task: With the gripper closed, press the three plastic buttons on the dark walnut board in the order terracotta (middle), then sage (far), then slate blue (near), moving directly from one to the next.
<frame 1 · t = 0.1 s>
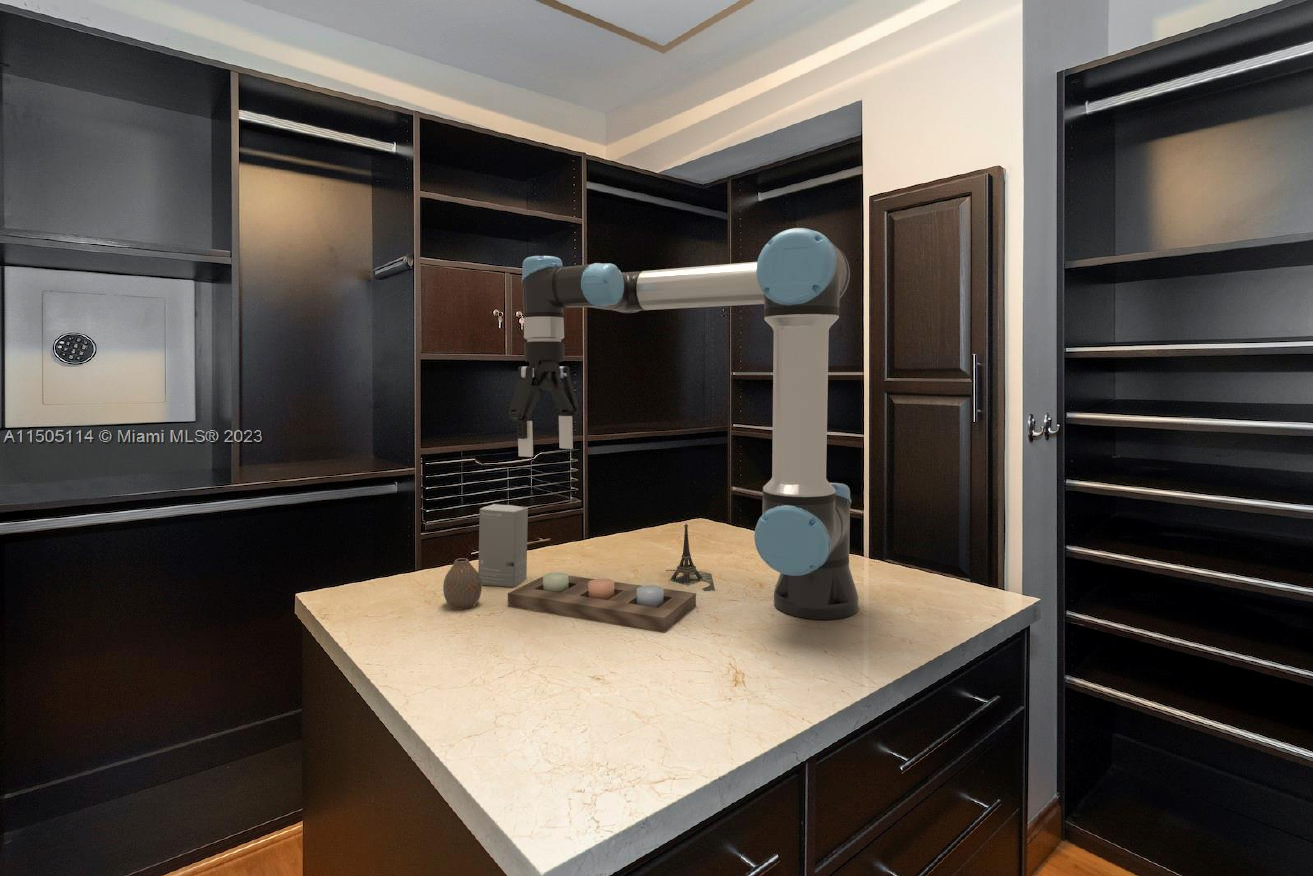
hand: (546, 452, 134), 28 cm above the counter, fingers open, 13 cm apart
eiffel tower figurine: (688, 583, 144), on the counter
button terracotta: (601, 590, 128), point 3 cm above the counter, slide at 0.0 cm
button slate: (650, 597, 124), point 3 cm above the counter, slide at 0.0 cm
button sage: (555, 583, 132), point 3 cm above the counter, slide at 0.0 cm
vase: (463, 606, 130), on the counter
button board: (601, 606, 129), on the counter
skincare box: (504, 582, 144), on the counter
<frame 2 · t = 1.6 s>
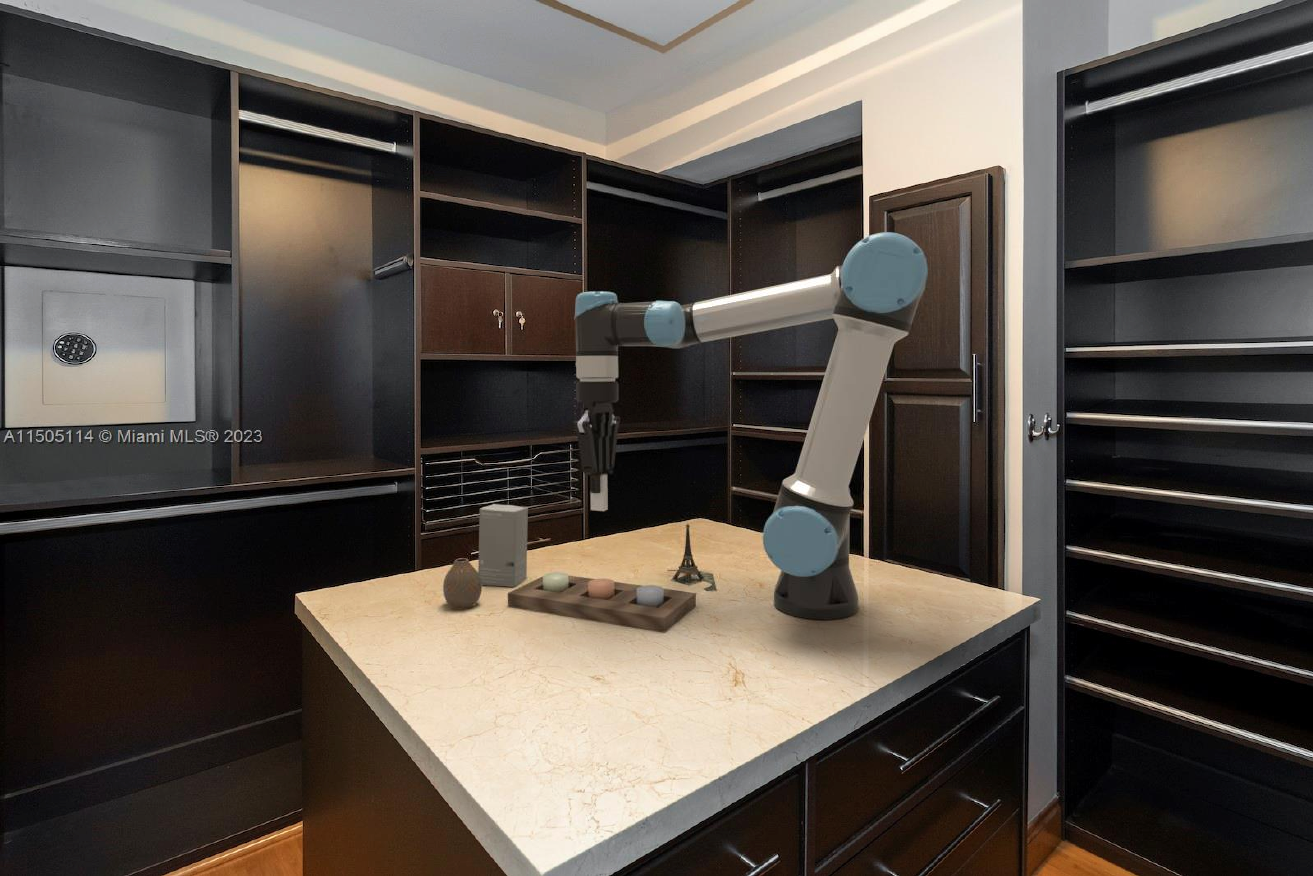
hand: (599, 509, 127), 18 cm above the counter, fingers closed
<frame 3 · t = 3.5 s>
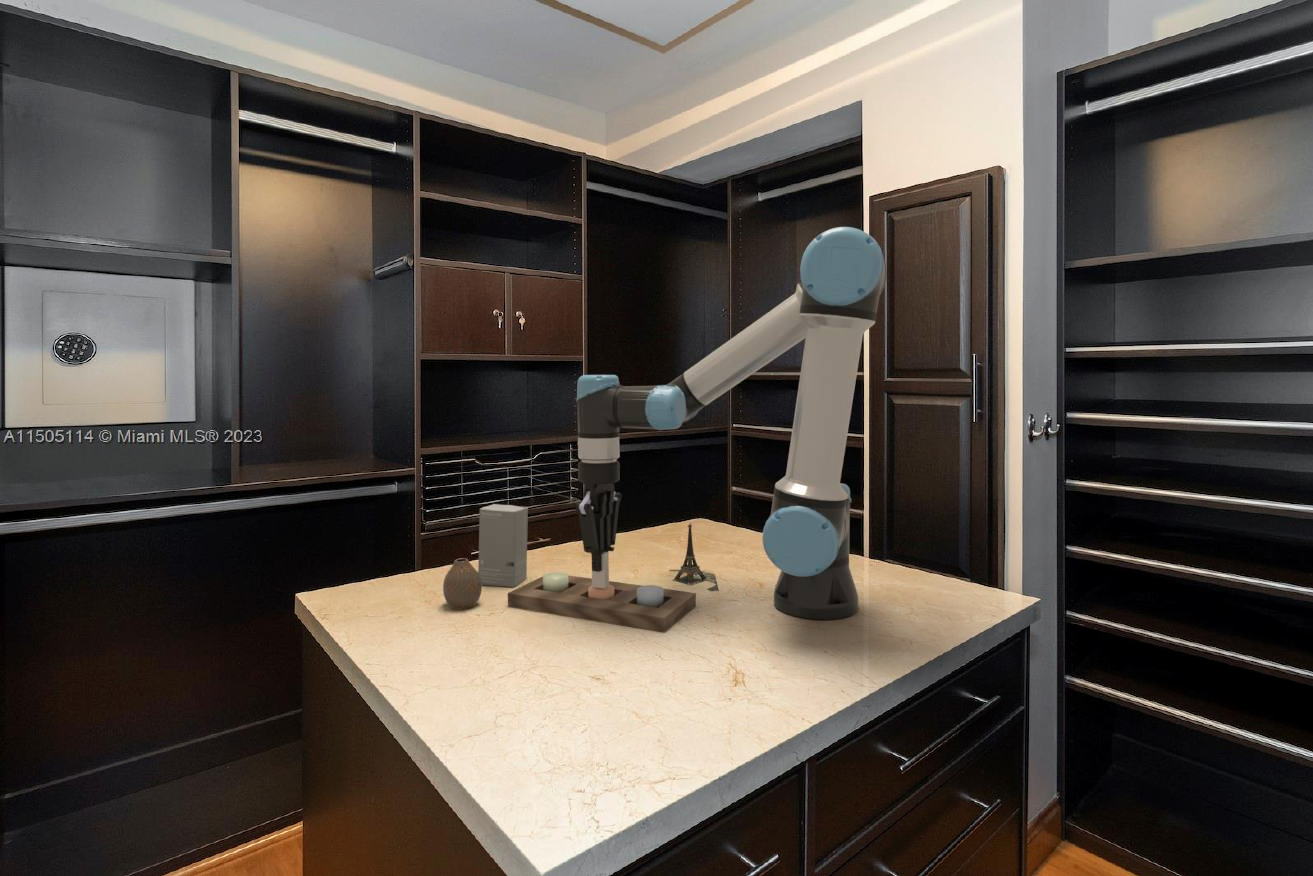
hand: (600, 586, 128), 4 cm above the counter, fingers closed
button terracotta: (601, 596, 128), point 2 cm above the counter, slide at 1.1 cm, touching gripper
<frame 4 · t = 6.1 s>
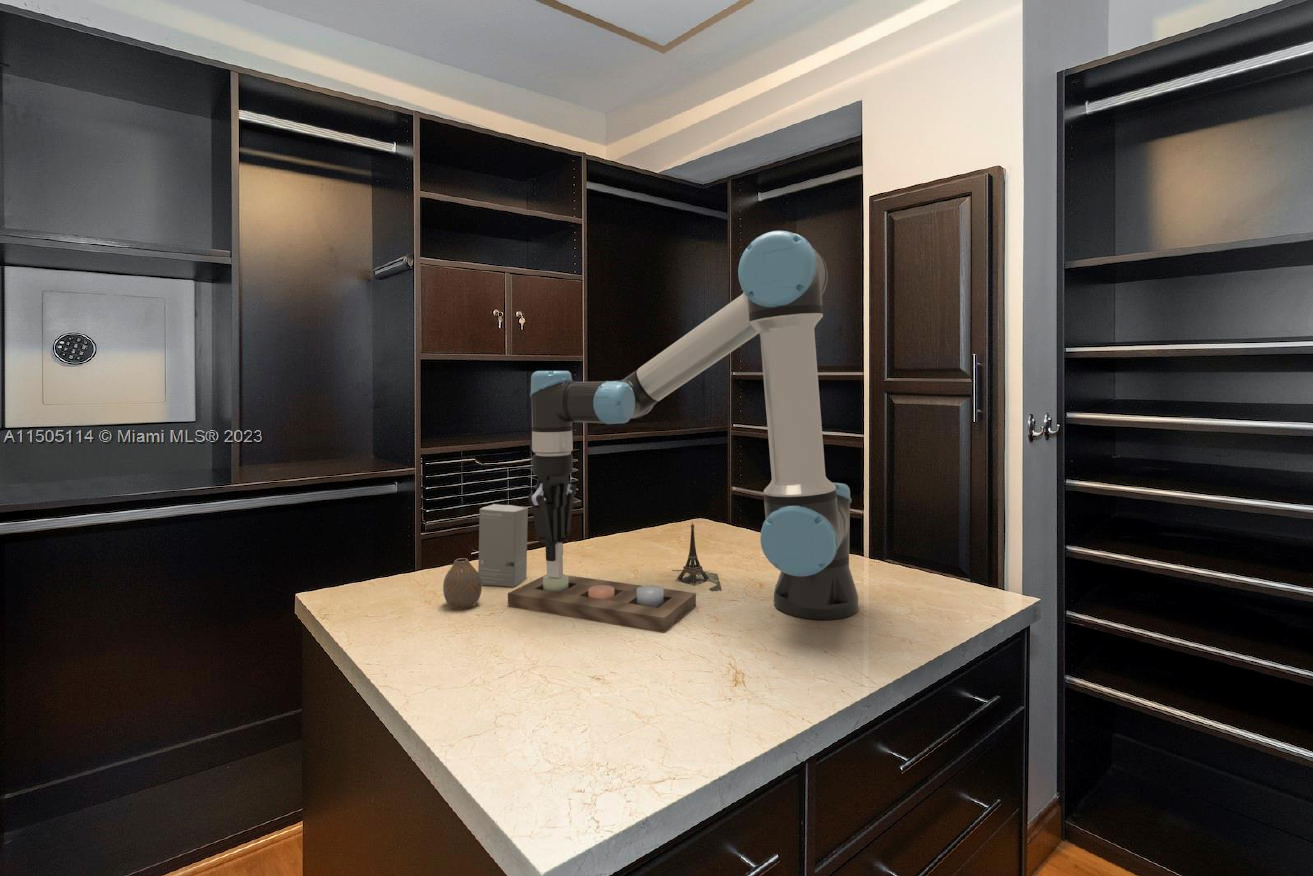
hand: (554, 576, 132), 5 cm above the counter, fingers closed
button terracotta: (601, 597, 128), point 2 cm above the counter, slide at 1.2 cm
button sage: (555, 585, 133), point 3 cm above the counter, slide at 0.3 cm, touching gripper
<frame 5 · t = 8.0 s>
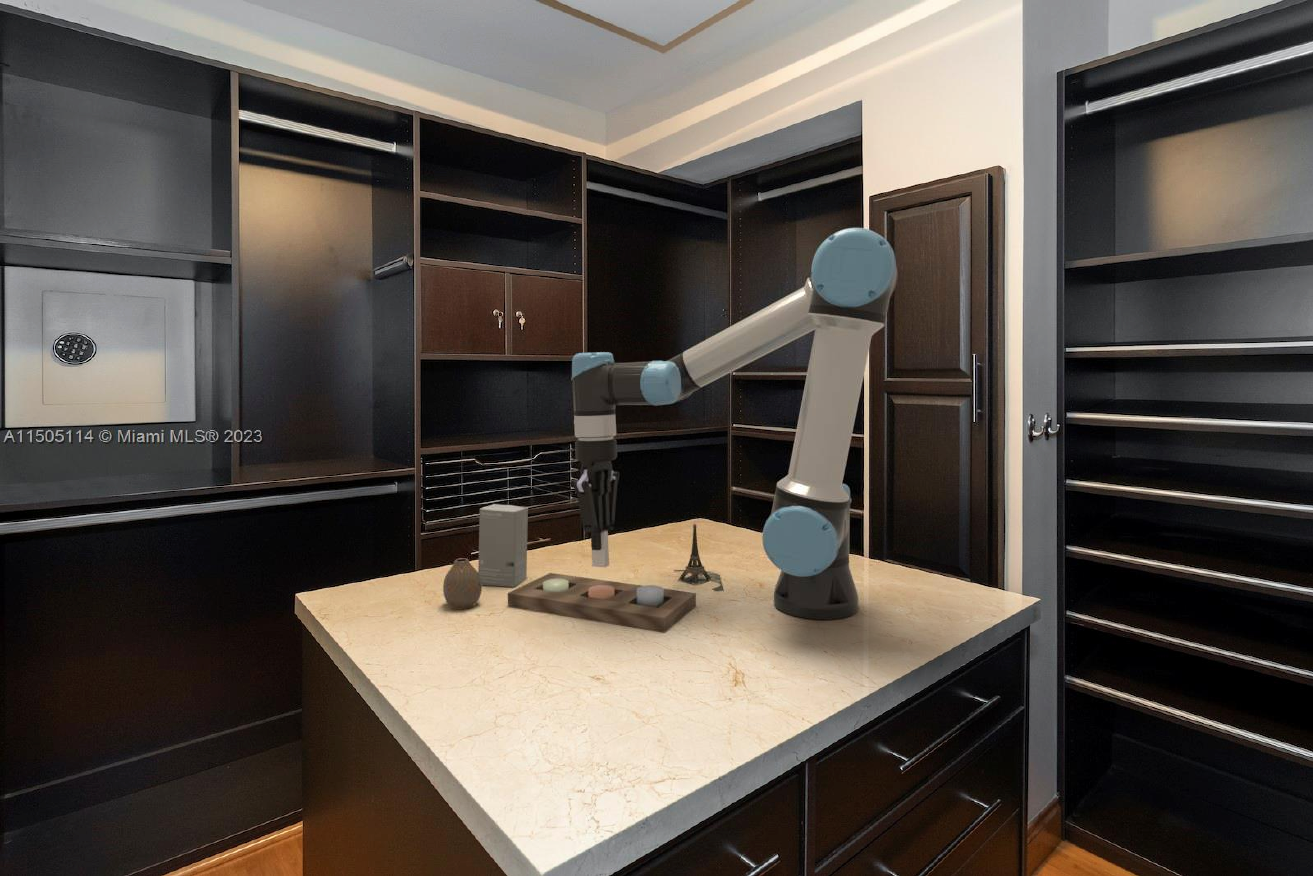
hand: (600, 565, 128), 8 cm above the counter, fingers closed
button sage: (555, 590, 133), point 2 cm above the counter, slide at 1.2 cm
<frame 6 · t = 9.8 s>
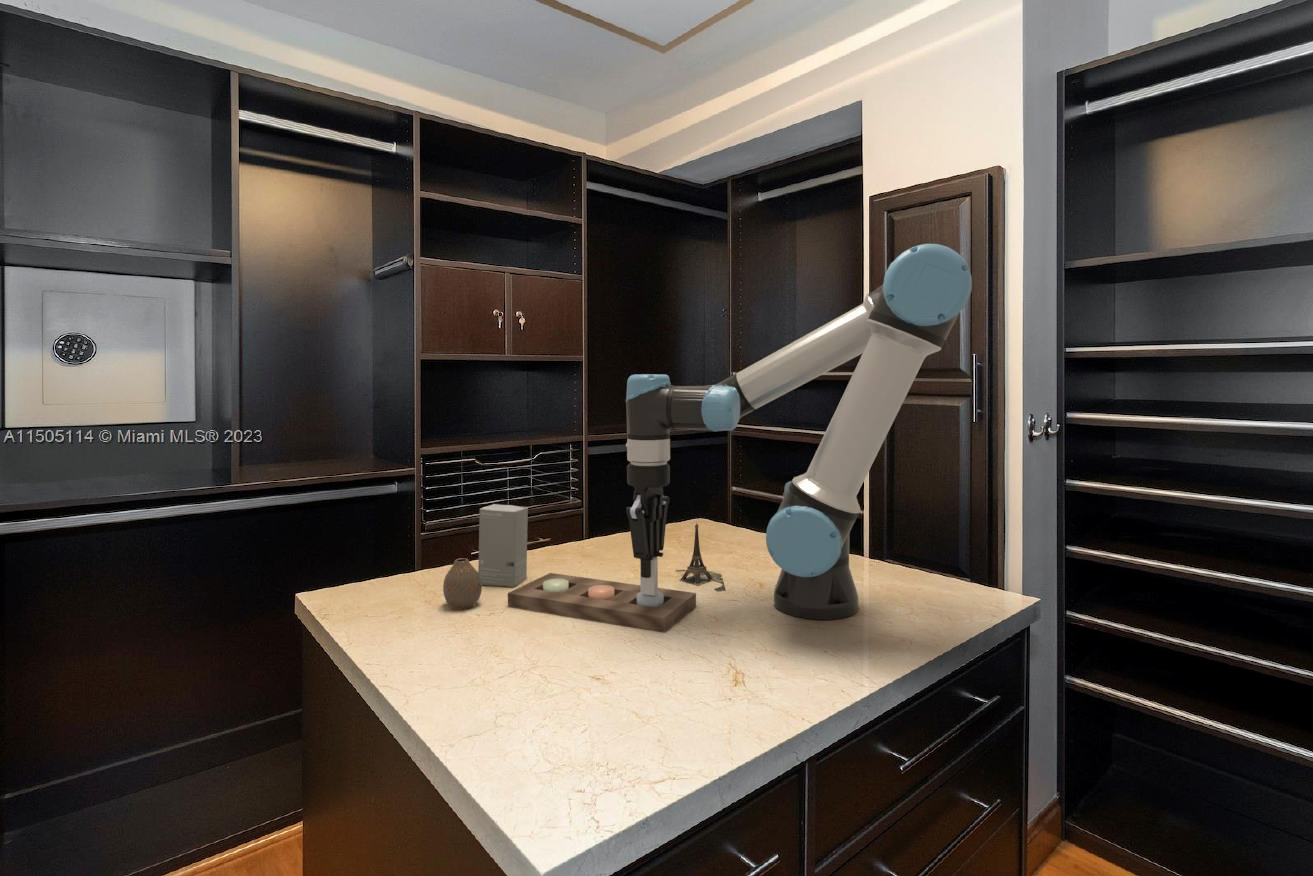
hand: (649, 593, 124), 4 cm above the counter, fingers closed
button slate: (650, 603, 124), point 2 cm above the counter, slide at 1.0 cm, touching gripper
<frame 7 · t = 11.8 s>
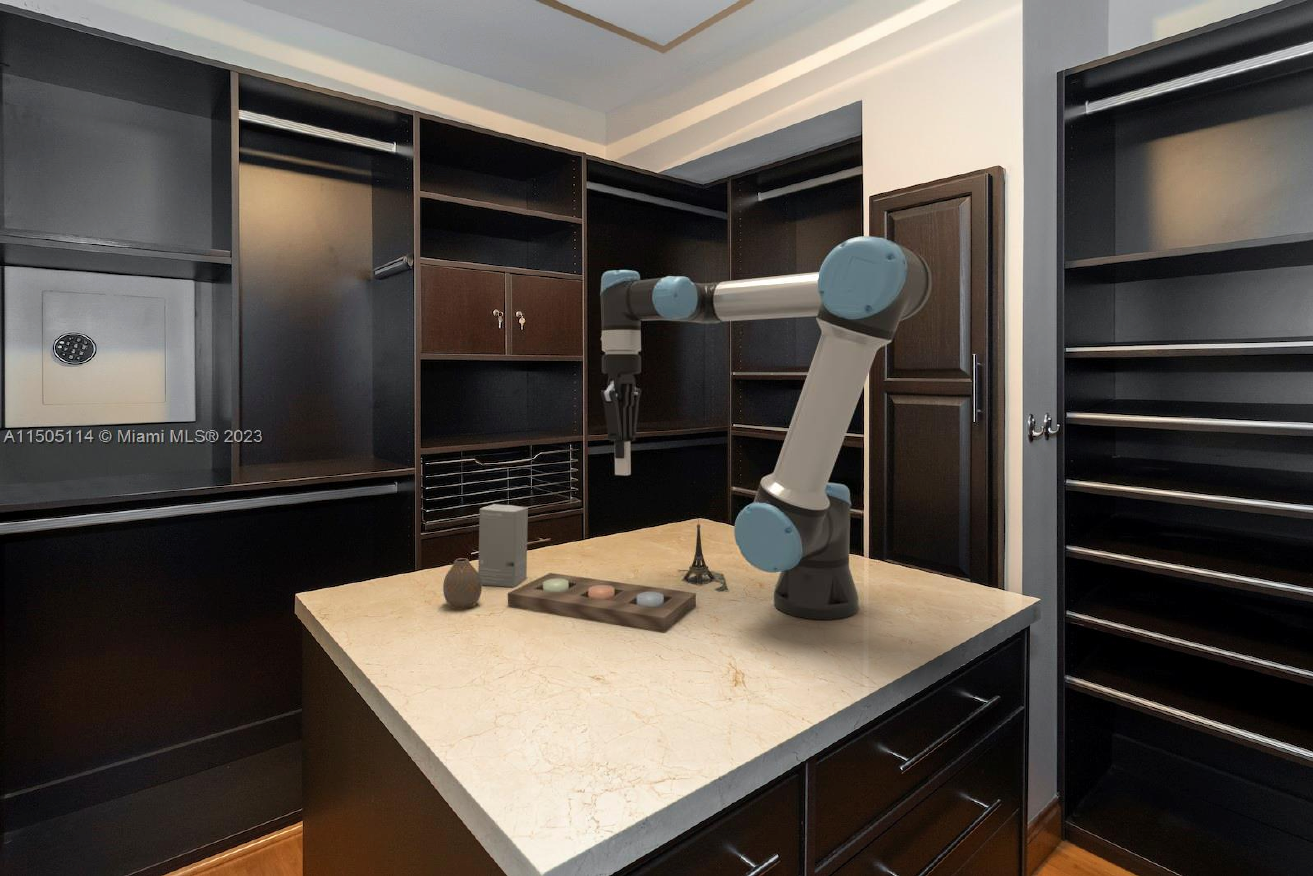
hand: (622, 474, 136), 23 cm above the counter, fingers closed
button slate: (650, 604, 124), point 2 cm above the counter, slide at 1.2 cm
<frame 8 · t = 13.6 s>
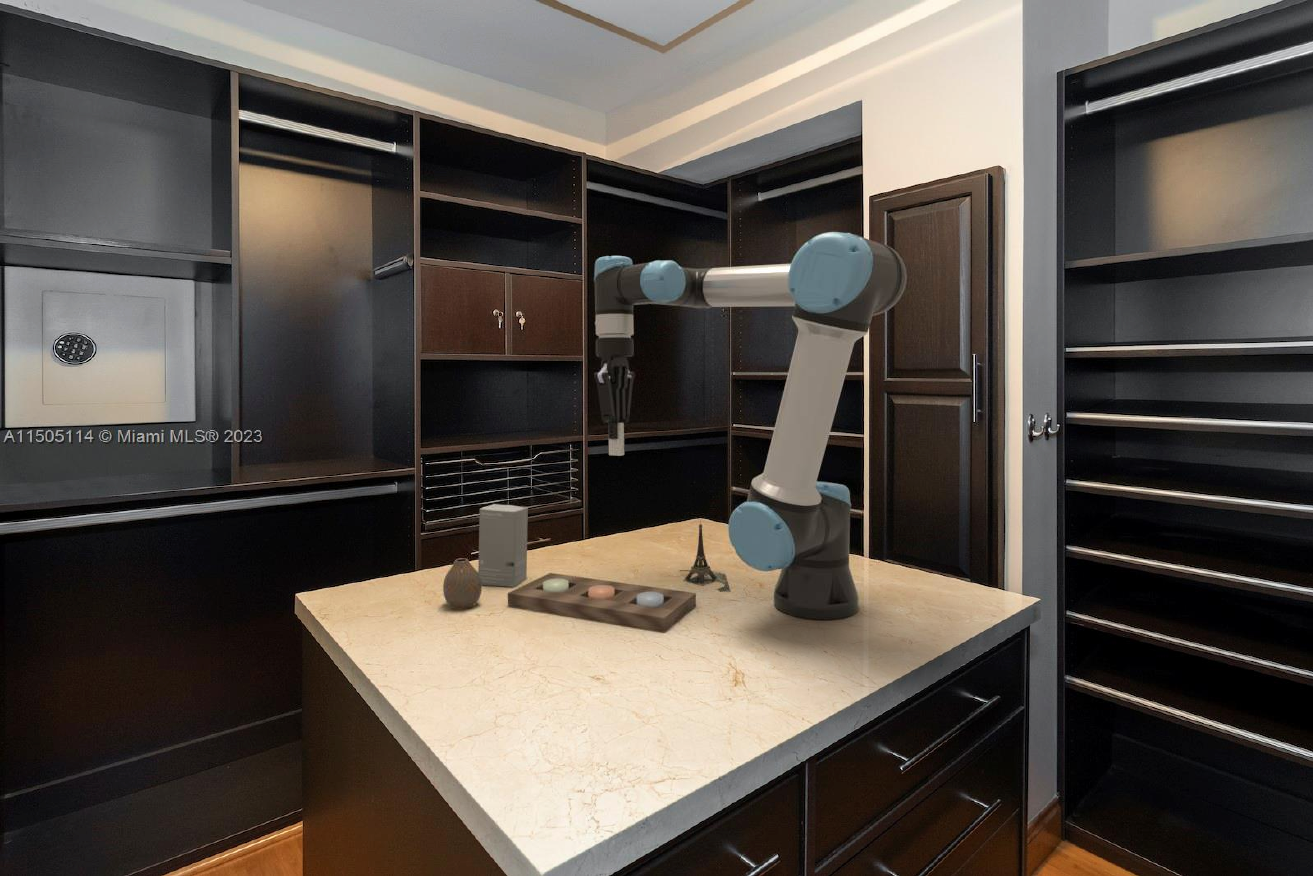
hand: (616, 454, 140), 26 cm above the counter, fingers closed
at the end: button terracotta slide at 1.2 cm; button sage slide at 1.2 cm; button slate slide at 1.2 cm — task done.
